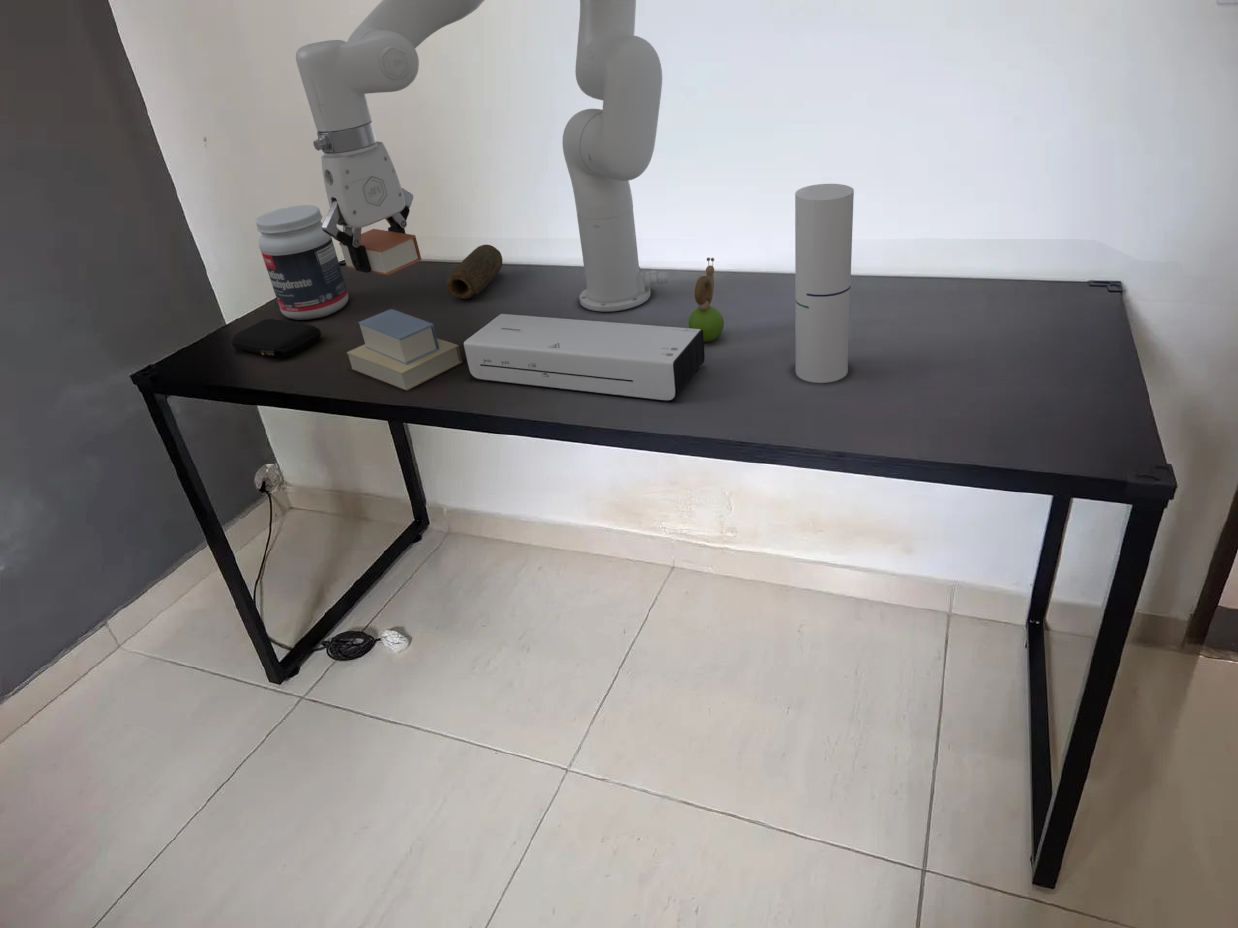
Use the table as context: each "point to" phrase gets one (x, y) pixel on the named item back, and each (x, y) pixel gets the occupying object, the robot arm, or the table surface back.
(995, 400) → the table surface
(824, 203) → the cylindrical container
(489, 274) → the brown vase
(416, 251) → the terracotta book
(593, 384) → the laminator
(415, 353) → the grey blue book
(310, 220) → the supplement tub
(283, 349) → the carrying case
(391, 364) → the cream hardcover
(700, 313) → the snail figurine
